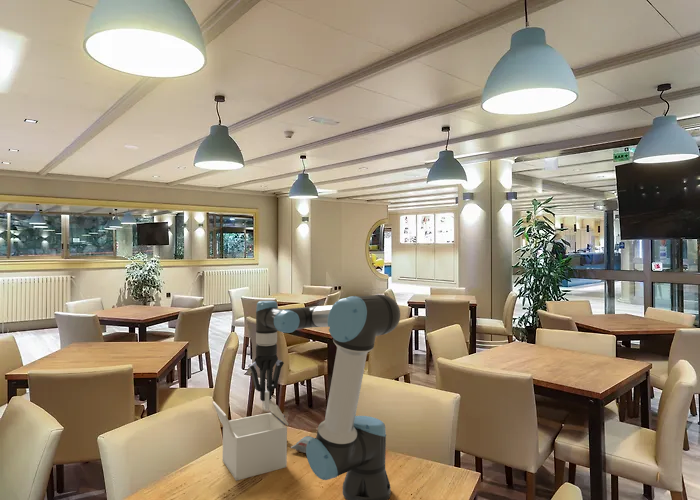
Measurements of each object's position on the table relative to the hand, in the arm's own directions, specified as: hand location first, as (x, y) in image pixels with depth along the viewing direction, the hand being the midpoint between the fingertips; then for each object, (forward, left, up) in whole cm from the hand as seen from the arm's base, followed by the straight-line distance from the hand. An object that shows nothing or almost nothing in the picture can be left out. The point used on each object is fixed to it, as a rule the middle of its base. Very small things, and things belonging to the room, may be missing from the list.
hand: (265, 409), depth 157 cm
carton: (0, +4, -19) cm, 19 cm away
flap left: (0, +15, -1) cm, 15 cm away
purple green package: (+15, -9, -19) cm, 26 cm away
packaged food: (-2, -17, -19) cm, 26 cm away
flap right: (0, -3, -1) cm, 3 cm away
